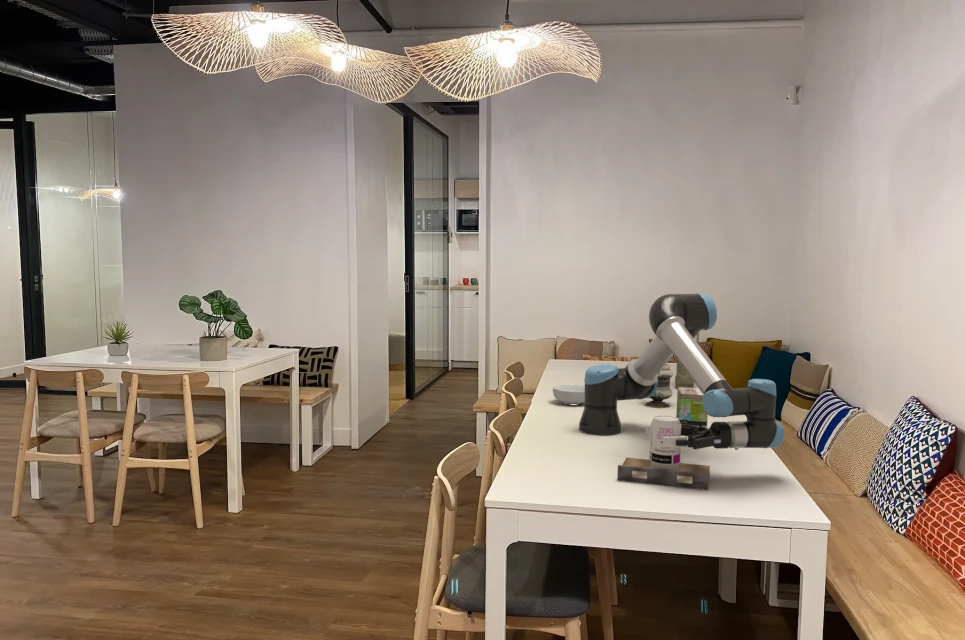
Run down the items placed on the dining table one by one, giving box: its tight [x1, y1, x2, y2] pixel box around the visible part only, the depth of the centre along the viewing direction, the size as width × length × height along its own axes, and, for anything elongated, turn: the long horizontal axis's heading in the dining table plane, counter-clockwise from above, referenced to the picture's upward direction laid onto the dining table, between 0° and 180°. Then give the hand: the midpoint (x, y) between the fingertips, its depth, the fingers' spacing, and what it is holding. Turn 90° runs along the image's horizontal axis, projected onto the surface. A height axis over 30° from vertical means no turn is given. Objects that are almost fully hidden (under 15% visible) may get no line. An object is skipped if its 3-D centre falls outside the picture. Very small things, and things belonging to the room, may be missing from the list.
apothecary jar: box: [645, 362, 674, 409], centre depth 302 cm, size 12×12×18 cm
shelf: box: [617, 457, 711, 491], centre depth 201 cm, size 24×17×4 cm
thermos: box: [674, 332, 700, 390], centre depth 343 cm, size 9×12×35 cm
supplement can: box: [649, 415, 682, 471], centre depth 199 cm, size 8×8×15 cm
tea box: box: [675, 387, 709, 429], centre depth 257 cm, size 15×10×15 cm
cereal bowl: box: [552, 383, 585, 405], centre depth 304 cm, size 17×17×7 cm
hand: (654, 435), depth 198 cm, fingers open, 13 cm apart
